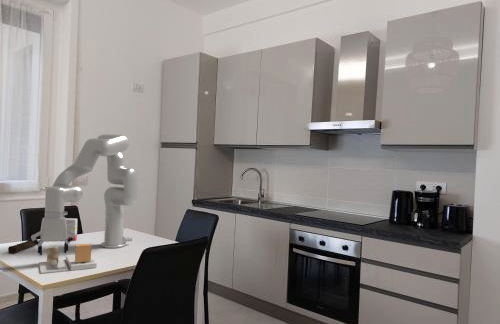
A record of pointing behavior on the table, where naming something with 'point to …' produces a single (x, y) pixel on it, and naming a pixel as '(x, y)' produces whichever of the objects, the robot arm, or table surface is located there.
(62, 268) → the tool mat
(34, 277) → the table surface
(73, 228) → the ink box
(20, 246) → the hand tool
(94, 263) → the switch housing
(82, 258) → the slide tab
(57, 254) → the tan block on stem
